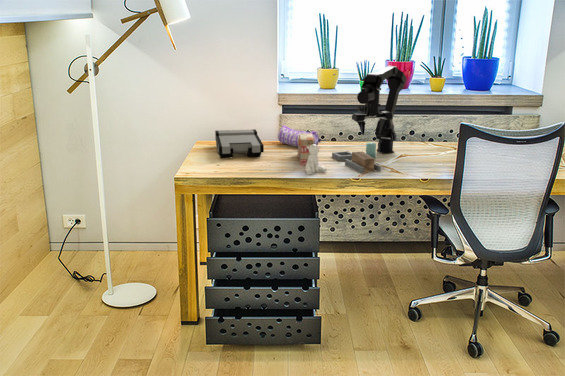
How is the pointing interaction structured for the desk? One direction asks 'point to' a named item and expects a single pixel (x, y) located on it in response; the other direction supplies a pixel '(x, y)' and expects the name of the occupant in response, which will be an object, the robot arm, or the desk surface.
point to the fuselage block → (363, 161)
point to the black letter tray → (238, 143)
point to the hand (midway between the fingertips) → (371, 134)
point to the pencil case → (294, 136)
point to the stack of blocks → (304, 147)
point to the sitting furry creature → (314, 161)
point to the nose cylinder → (371, 149)
